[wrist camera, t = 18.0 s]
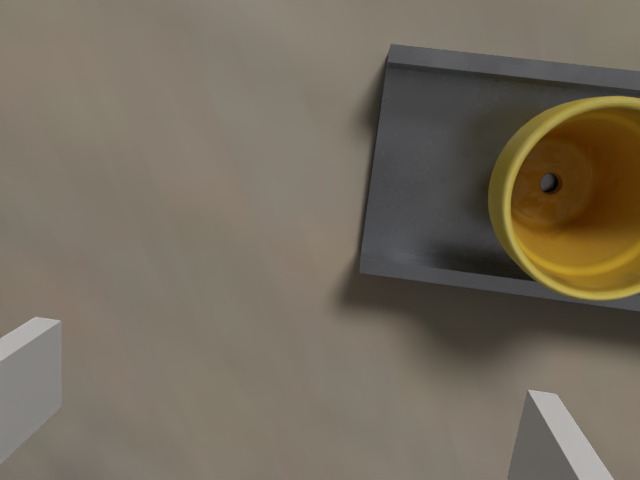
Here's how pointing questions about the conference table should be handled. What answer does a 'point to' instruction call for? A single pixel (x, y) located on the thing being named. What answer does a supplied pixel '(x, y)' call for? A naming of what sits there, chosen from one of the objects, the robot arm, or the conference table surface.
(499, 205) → the plant pot
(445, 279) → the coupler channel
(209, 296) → the conference table surface
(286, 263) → the conference table surface
